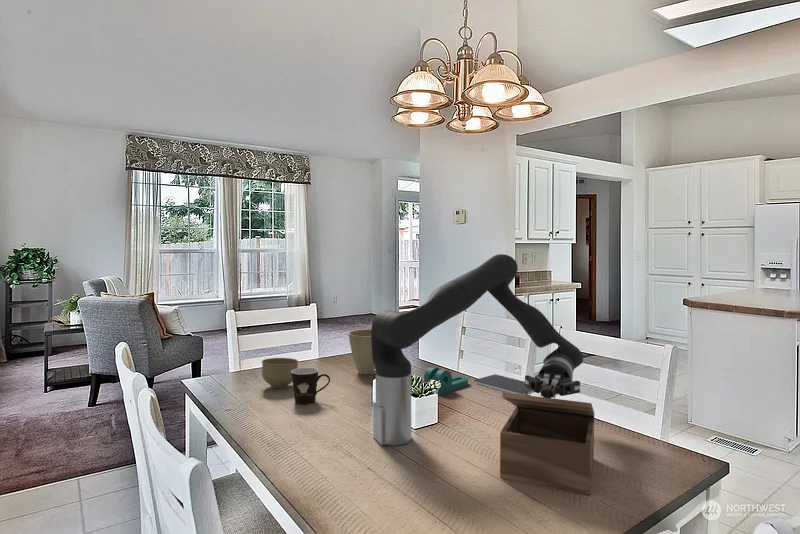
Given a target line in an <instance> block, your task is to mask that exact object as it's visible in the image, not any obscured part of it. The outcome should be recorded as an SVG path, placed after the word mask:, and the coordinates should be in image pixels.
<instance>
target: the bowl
mask: <svg viewBox="0 0 800 534" xmlns="http://www.w3.org/2000/svg"><path fill="white" fill-rule="evenodd" d="M261 364H262V365H261V366H262V368H261V369H262V371H261V377H262V378H263V381H265V382H266V383H267V384H268V385H269V386H270V387H271V388H272V389H277V390H278V389H279V390H282V389H286V388H287V387H288V386H289V385H291V384H292V383H293V382H292V374H291V371H292V370H294V369H297V368H299V367H298V365H299V360H298V359H296V358H292V357H291V358H289V357H271V358H266V359H263V360H261Z"/></svg>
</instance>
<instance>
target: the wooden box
mask: <svg viewBox="0 0 800 534" xmlns="http://www.w3.org/2000/svg"><path fill="white" fill-rule="evenodd" d="M499 440H500V441H499V444H500V445H499V448H500V449H499V450H500V453H499V478H500V479H504V480H509V481H513V482H519V483H524V484H529V485H534V486H538V487H542V488H543V487H544V488H550V489H556V490H560V491H565V492H569V493H574V494H579V495H580V494H581V495H585V496H590V494H591V485H592V478H593V470H594V469H593V467H594V462H595V461H594V458H595V416H594V417H589V416H582V415H574V414H567V413H559V412H552V411H544V410H537V409H529V408H522V407H516V406H515V408H514V410H513V411H512V413H511V414H510V416H509V417H508V420H507V421H506V423H505V424H504V426H503V428H502V429H501V431H500V435H499Z"/></svg>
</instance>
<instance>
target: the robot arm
mask: <svg viewBox="0 0 800 534" xmlns="http://www.w3.org/2000/svg"><path fill="white" fill-rule="evenodd" d="M518 267H519V266H518V264H517V261H516V259H515V258H514V257H512V256H510V255H508V254H503V253H499V254H495V255H492V257H490V258H488V259H487V260H486V261H484V262H483V263H482V264H480V265H479V266H478V267H477V266H476V267H475V268H474V269H472V270H470V271H468V272H466V273H464V274H461V275H460V276H458V277H456V278H454V279H452V280H450V281H448V282H445V283H444V284H441V285H440V286H438V287H436V288H435V289H433V291H432V292H431V294H430V295H429V297H428V299H427V300H426V302H424V303H423V304H422V305H420V306H418V307H416V308H413V309H412V310H409V311H404V312H403V311H402V312H401V311H396V310H395V311H394V310H389V309H388V310H387V309H386V310H381V311H380V312H378V313H377V314H376V315H375V316H374V318H373V320H372V324H371V328H370V329H371V343H372V359H373V363H374V365H375V369H376V373H375V400H373V401H372V418H373V419H372V420H373V421H372V426H373V428H372V435H373V436H372V437H373V438H374V439H375V440H376V441H377V442H378V443H379V445H380V446H385V445H386V446H401V445H405V444H407V443H409V442H410V441H411V440H412V364H411V361H410V360H409V359H408V358H407V357H406V355H405V354H404V352H403V350H404V349H407V348H409V347H411V346H412V345H414V344H415V343H416V342H418V341H419V340H421V339H422V338H423V337H425V335H427V334H428V333H430V332H431V331H432V330H433V329H435V328H437V327H439V326H440V325H441V324H443V323H445V322H447V321H448V320H450V319H451V318H454V317H457V316H458V315H459V314H462V313H463V312H464V311H466V310H467V309H470V308H471V307H472V305H474V304H475V303H476V302H477V301H479V299H481V297H483V295H485V294H486V292H488V293H489V294H490V295H491V296H492V297H493V298H494V299H495V300H496V301H497V302H498V303H499V304H500V305H501V306H502V307H503V308H504V309H506V310H507V311H508V312H509V314H510V315H512V316H513V318H514V319H515V320H516V321H517V322H518V324H520V326H521V327H522V328H523V330H524V331H525V333H526V334H527V335H528V337H529V338H530V339H531V340H532V342H533V343H534V344H535V346H536V347H538V348H545V347H547V346H549V345H551V344H556V345H557V346H559V347H557V348H556V349H554V350H553V351H552V352H550V353H549V354H547V355H546V356H545V358H543V360H542V361H543V362H542V363H543V365H542V367H541V368H540V370H539V372H538V374H537V375H535V376H531V375H528V374H527V375H526V374H525V375H524V382H525V387H527V388H529V389H531V390H532V391H534V393H537V394H540V397H545V398H553V399H554V398H555V396H561V397H564V396H568V395H575V394H580V393H581V381H580V380H574V381H573V377H574V370H575V369H577V368H578V367H580V366H581V365H582V364H583V362H584V357H583V356H584V355H583V353H582V351H581V350H580V349H579V348H578V347H577V346H576V345H575V344H573V343H571V342H570V341H569V340H568V339H566V338H565V337H563V335H562V334H560V333H559V332H558V330H556V328H555V327H554V326H553V325H552V324H551V322H550V321H549V320H548V319H547V317H546V315H544V313H542V312H541V311H540V310H539V309H538V308H536V307H535V306H533V305H531V304H529V303H527V302H524V301H523V300H521V299H519V298H518V297H517V296H516V295H515V294H514V293H513V291H512V290H511V288H510V286H509V285H510V284H511V283H512V282H513V281H514V279H515V278H516V276H517V273H518V271H519V269H518Z"/></svg>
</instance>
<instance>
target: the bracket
mask: <svg viewBox="0 0 800 534" xmlns="http://www.w3.org/2000/svg"><path fill="white" fill-rule="evenodd" d="M423 379H424V381H423V383H424V382H426V383H427V382H428V381H429V380H430V379H434V380H440V383H441V387H440V388H439V390H438V394H439V395H438V396H440V395H443V394H446V393H449V392H452V391H455V390H456V391H457V390H458V389H462V388H464V387H467V386H468V385H469V377H466V376H463V375H462V376H461V375H452V374H451V372H450V370H447V369H442V368H438V367H434V366H429V367H428V368H427V369H426V370H425V372H424V378H423Z"/></svg>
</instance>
